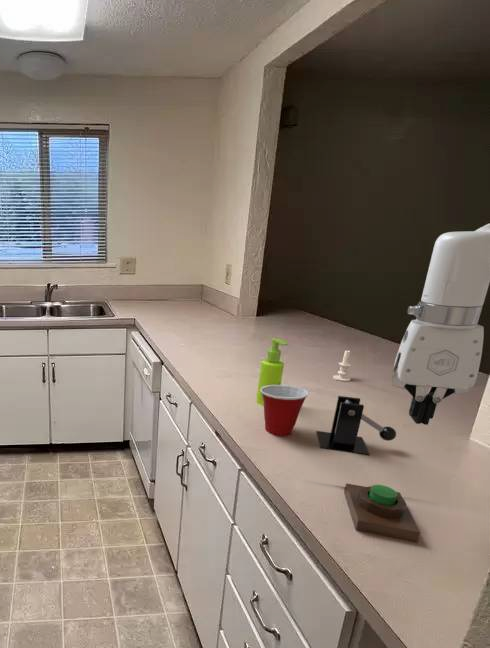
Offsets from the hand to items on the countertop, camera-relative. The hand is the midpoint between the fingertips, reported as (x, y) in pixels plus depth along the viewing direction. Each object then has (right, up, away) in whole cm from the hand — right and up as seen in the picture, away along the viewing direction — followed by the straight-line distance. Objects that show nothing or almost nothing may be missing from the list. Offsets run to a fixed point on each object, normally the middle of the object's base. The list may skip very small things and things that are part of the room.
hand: (419, 420), depth 74 cm
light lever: (+7, -4, +26) cm, 27 cm away
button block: (-4, -18, +5) cm, 19 cm away
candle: (+30, +7, +73) cm, 80 cm away
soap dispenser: (-4, -1, +52) cm, 53 cm away
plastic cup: (-8, -7, +36) cm, 38 cm away
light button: (-4, -14, +4) cm, 15 cm away
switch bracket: (+4, -9, +29) cm, 31 cm away
